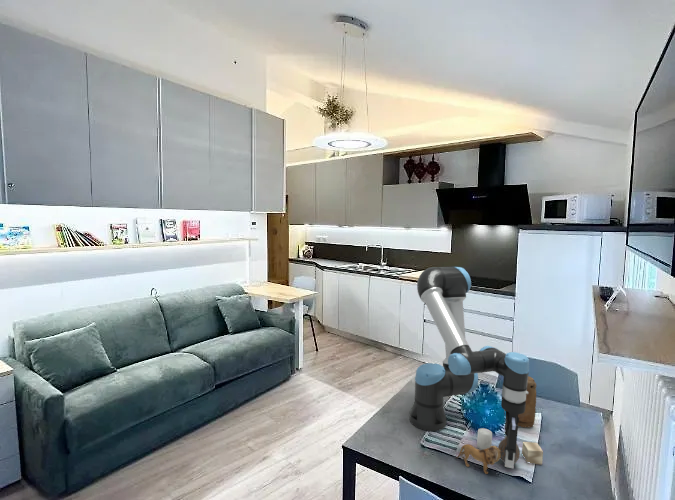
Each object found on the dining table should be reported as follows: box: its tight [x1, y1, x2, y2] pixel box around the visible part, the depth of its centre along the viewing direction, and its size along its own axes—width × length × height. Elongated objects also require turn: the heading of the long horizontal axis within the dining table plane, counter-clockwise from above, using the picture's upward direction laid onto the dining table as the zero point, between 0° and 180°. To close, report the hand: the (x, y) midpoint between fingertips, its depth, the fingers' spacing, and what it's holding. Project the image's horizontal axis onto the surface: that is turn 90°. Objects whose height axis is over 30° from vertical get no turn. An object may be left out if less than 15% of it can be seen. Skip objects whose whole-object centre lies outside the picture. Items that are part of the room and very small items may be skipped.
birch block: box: [521, 441, 544, 465], centre depth 135 cm, size 5×5×5 cm
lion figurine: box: [454, 443, 501, 475], centre depth 130 cm, size 15×5×9 cm, turn 63°
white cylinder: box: [476, 427, 493, 450], centre depth 142 cm, size 5×5×6 cm
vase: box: [497, 435, 521, 464], centre depth 132 cm, size 7×7×9 cm
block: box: [518, 375, 537, 428], centre depth 158 cm, size 11×8×20 cm
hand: (508, 460), depth 133 cm, fingers closed on vase, 7 cm apart
